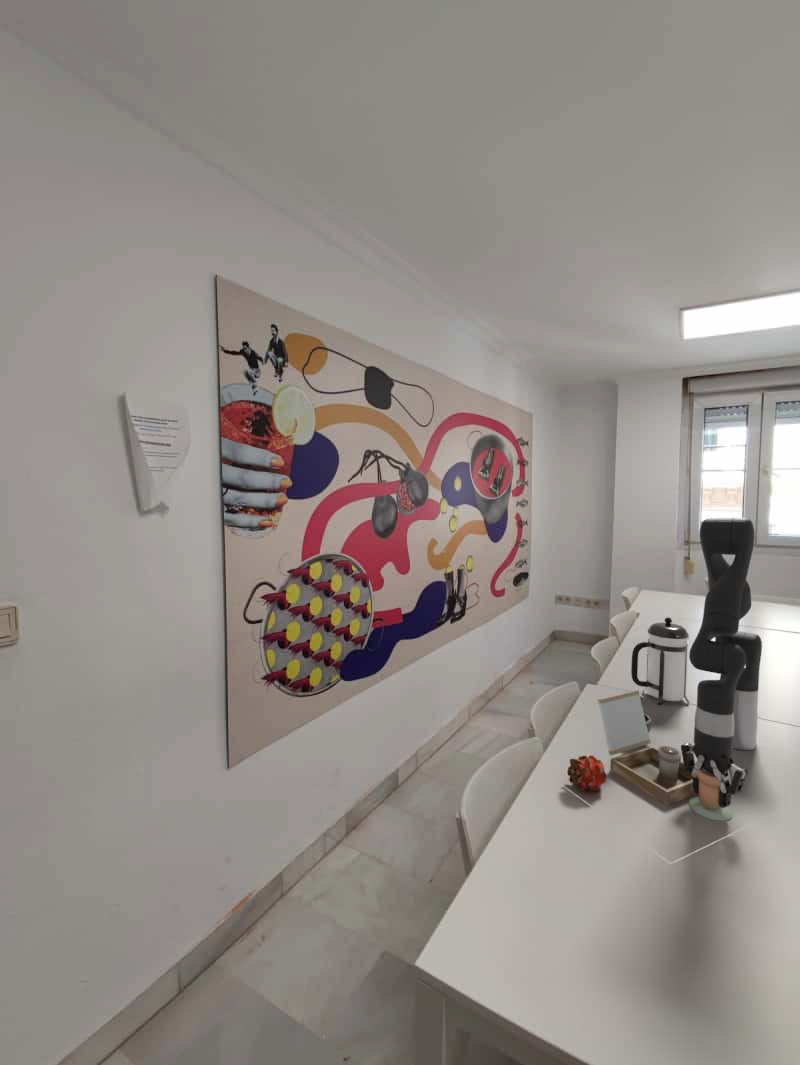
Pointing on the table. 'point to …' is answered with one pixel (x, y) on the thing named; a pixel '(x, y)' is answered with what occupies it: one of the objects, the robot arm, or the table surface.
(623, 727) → the lid
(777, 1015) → the table surface
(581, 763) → the dragon fruit
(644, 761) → the box
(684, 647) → the coffee press
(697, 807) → the saucer
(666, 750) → the grey pot
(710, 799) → the terracotta pot
